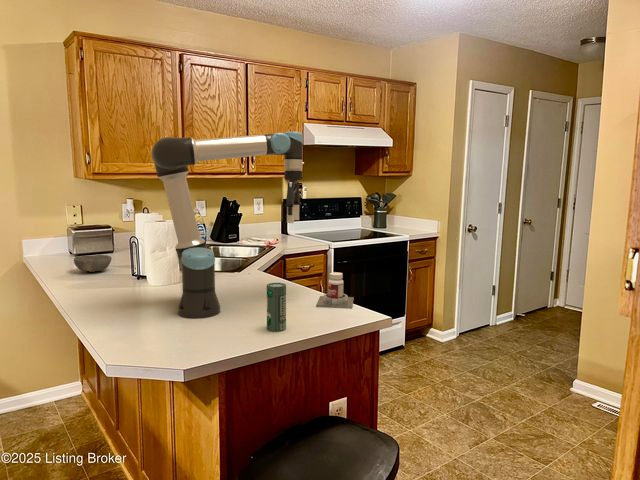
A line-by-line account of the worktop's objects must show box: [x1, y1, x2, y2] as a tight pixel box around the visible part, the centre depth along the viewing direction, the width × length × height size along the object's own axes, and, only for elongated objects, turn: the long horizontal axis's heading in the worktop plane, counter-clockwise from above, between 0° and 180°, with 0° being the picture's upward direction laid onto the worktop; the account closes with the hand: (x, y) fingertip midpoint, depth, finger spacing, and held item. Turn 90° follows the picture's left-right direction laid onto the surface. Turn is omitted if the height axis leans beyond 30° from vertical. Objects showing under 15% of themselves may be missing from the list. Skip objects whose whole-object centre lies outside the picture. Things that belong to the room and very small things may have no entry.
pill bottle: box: [327, 271, 344, 298], centre depth 189 cm, size 6×6×11 cm
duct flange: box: [315, 292, 354, 310], centre depth 189 cm, size 14×14×3 cm
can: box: [266, 282, 287, 333], centre depth 156 cm, size 6×6×15 cm
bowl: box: [73, 254, 112, 273], centre depth 243 cm, size 18×18×8 cm
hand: (293, 221), depth 196 cm, fingers open, 13 cm apart
